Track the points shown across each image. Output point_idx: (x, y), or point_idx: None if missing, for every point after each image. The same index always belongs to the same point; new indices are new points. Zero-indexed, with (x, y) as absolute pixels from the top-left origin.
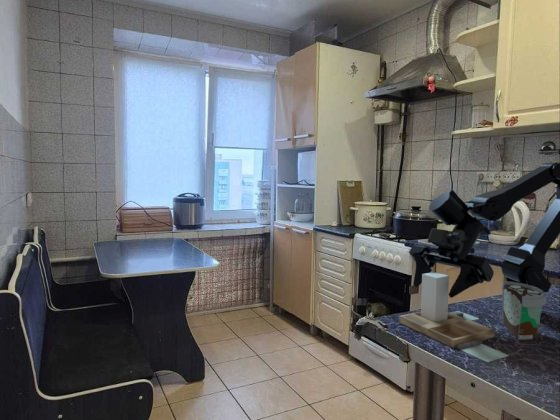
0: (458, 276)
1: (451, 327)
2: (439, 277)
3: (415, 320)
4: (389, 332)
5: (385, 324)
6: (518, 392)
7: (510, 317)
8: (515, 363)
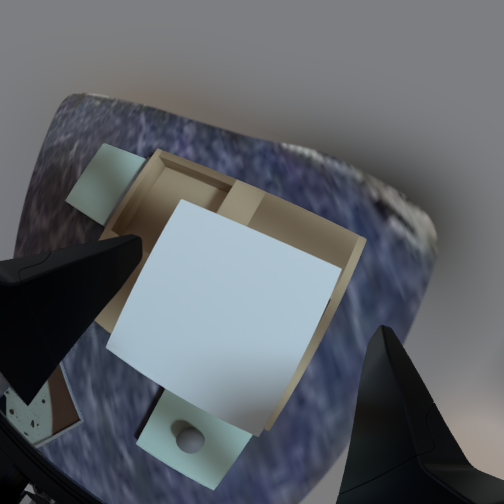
0: (34, 273)
1: None
2: (161, 233)
3: (298, 227)
4: (348, 171)
5: (389, 223)
6: (84, 103)
7: None
8: (63, 188)
